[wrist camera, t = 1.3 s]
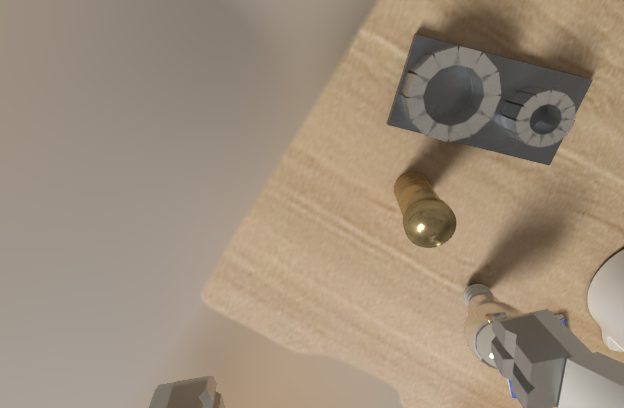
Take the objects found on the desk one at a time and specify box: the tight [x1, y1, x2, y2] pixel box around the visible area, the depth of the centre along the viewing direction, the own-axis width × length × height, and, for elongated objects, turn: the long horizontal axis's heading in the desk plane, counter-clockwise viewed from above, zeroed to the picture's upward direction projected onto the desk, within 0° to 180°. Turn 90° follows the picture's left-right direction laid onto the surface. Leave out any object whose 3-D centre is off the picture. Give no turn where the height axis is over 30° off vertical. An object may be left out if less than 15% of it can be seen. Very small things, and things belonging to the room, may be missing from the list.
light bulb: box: [463, 284, 524, 370], centre depth 42 cm, size 7×7×12 cm
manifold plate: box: [387, 35, 592, 165], centre depth 37 cm, size 18×9×4 cm, turn 77°
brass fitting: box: [394, 172, 456, 248], centre depth 39 cm, size 5×5×10 cm
